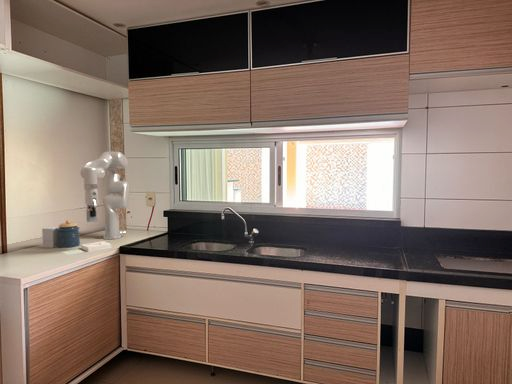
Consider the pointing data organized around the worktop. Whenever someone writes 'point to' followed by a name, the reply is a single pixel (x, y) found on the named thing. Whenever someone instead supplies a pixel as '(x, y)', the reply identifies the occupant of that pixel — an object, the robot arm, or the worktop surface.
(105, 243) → the white flat block
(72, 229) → the canister
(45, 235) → the supplement box
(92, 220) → the plug
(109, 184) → the robot arm
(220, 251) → the worktop surface
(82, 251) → the mat
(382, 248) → the worktop surface
